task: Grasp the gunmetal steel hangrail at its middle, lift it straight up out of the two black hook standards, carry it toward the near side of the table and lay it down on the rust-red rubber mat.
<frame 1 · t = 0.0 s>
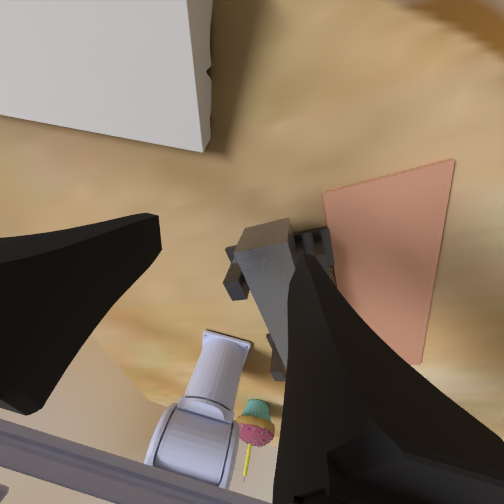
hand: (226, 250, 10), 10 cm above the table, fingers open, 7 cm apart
rail: (297, 320, 23), point 2 cm above the table, touching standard, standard
cupcake: (257, 402, 45), on the table
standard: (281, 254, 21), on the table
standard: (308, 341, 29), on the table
decorative molding: (8, 35, 15), on the table
mat: (381, 296, 22), on the table
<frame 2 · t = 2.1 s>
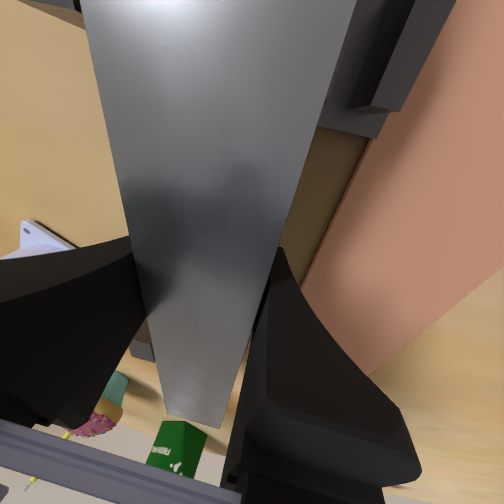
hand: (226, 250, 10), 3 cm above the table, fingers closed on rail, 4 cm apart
rail: (228, 247, 10), point 2 cm above the table, touching gripper, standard, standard
cupcake: (114, 373, 31), on the table
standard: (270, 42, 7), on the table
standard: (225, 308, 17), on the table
milk carton: (185, 426, 41), on the table
mat: (393, 265, 12), on the table
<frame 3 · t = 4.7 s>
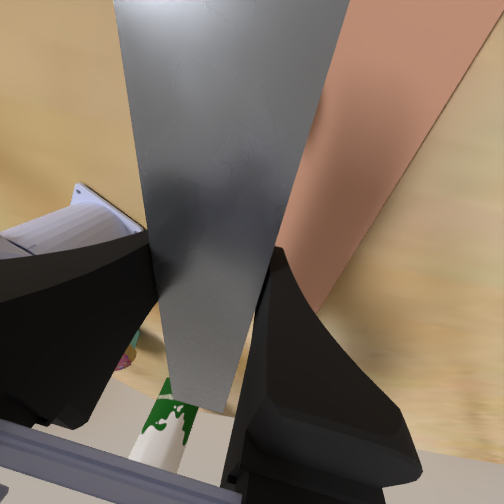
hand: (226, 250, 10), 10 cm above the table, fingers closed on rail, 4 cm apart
rail: (232, 239, 11), point 9 cm above the table, touching gripper
cupcake: (128, 326, 37), on the table
milk carton: (186, 382, 47), on the table
mat: (324, 207, 18), on the table
when the fingers open (2 cm above the table, at t = 7.3 s): rail stays where it is, resting on mat.
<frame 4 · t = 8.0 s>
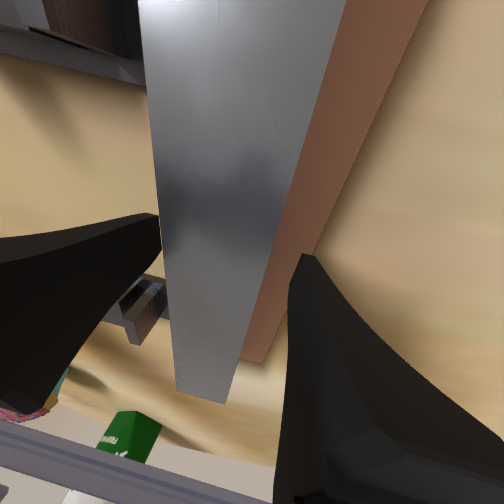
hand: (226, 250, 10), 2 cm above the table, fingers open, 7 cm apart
rail: (235, 234, 11), resting on mat
cupcake: (55, 361, 31), on the table
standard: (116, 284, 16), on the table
milk carton: (140, 417, 41), on the table
mat: (237, 230, 12), on the table
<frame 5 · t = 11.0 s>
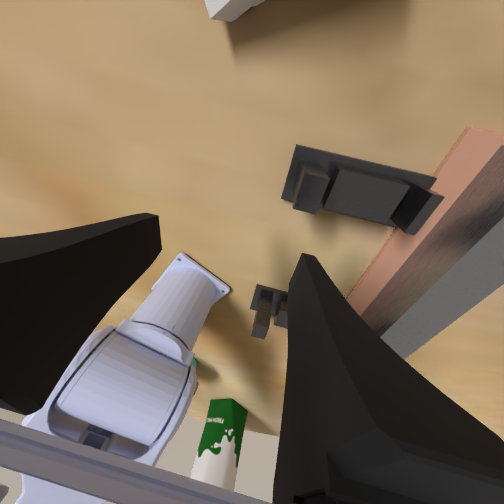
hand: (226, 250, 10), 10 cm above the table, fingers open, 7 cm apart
rail: (407, 286, 21), resting on mat
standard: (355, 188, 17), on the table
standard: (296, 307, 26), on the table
milk carton: (229, 404, 50), on the table
mat: (406, 283, 21), on the table
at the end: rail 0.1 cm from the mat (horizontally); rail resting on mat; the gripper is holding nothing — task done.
